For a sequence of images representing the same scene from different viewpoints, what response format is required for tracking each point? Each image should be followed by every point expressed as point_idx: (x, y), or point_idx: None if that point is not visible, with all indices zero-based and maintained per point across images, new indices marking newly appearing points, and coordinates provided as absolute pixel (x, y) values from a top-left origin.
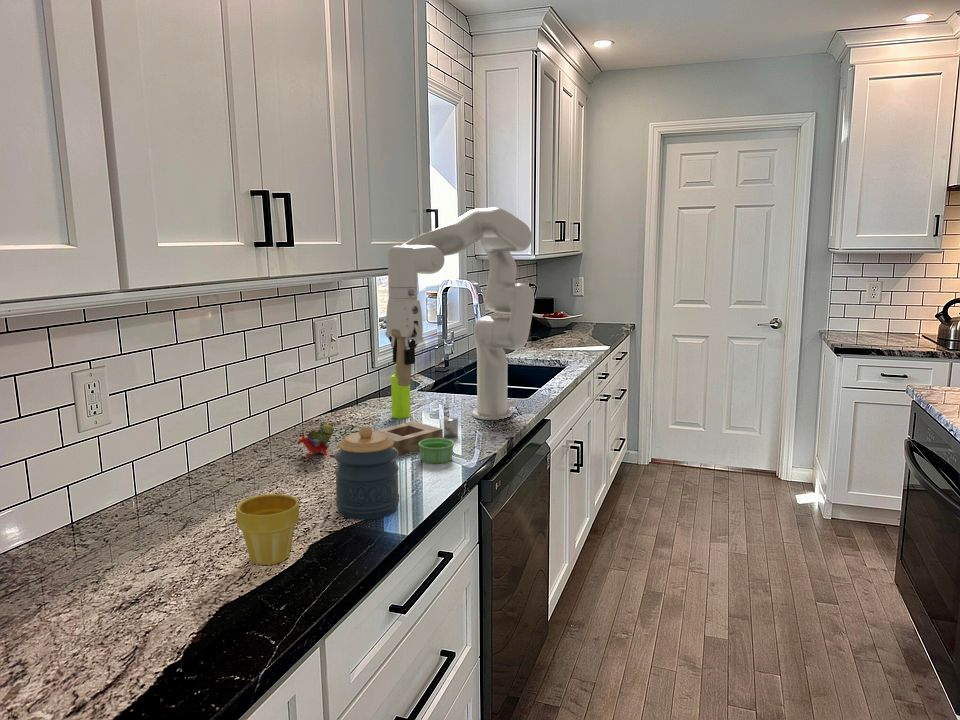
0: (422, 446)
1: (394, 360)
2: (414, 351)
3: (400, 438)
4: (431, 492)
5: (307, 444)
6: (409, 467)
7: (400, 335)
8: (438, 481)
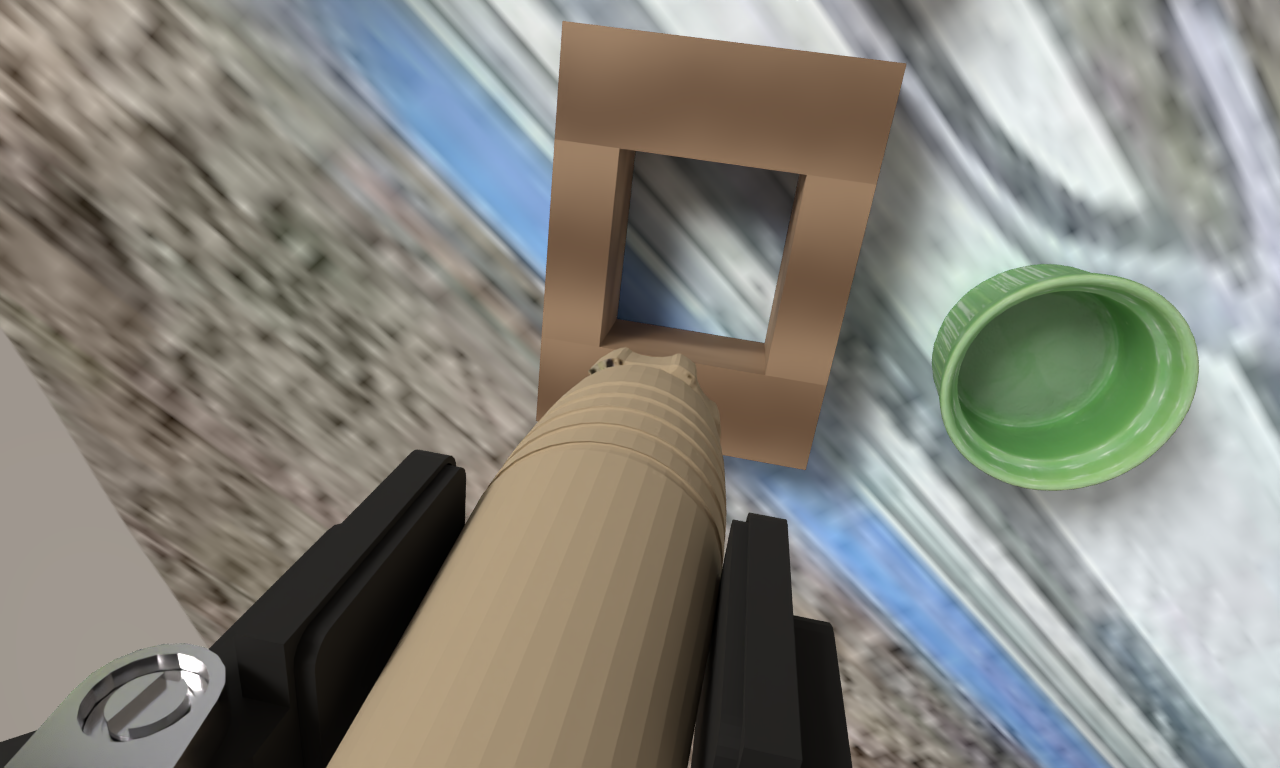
0: (1019, 486)
1: None
2: (795, 704)
3: (784, 417)
4: (1244, 702)
5: None
6: (963, 520)
7: None
8: (1213, 598)
